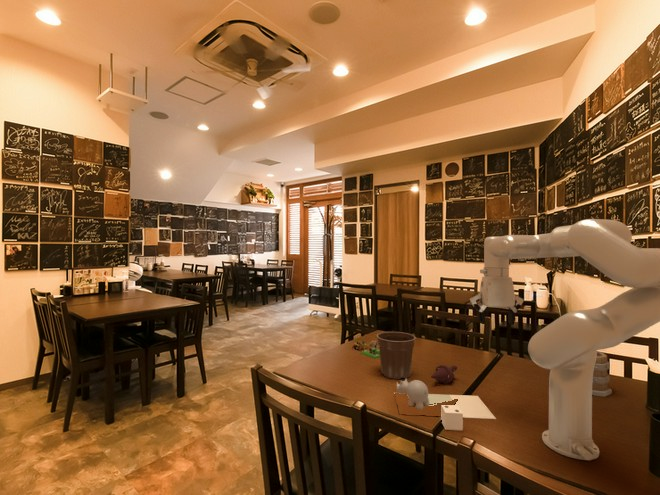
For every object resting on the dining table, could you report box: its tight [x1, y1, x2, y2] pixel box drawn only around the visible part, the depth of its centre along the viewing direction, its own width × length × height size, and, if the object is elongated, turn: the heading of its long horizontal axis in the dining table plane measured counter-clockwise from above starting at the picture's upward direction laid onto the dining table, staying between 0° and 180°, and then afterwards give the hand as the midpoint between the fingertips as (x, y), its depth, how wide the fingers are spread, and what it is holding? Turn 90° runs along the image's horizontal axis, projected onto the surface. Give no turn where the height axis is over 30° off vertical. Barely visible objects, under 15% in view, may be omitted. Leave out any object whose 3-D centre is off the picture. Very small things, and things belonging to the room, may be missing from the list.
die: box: [440, 405, 464, 431], centre depth 101 cm, size 5×5×5 cm
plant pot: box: [376, 331, 417, 380], centre depth 142 cm, size 16×16×16 cm
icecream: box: [430, 364, 458, 385], centre depth 133 cm, size 7×7×15 cm
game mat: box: [393, 392, 497, 420], centre depth 114 cm, size 16×30×1 cm, turn 86°
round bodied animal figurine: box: [396, 378, 429, 410], centre depth 115 cm, size 7×12×8 cm, turn 41°
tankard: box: [592, 350, 613, 398], centre depth 128 cm, size 20×13×15 cm, turn 74°
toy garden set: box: [352, 340, 380, 360], centre depth 175 cm, size 23×19×5 cm
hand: (496, 323), depth 113 cm, fingers open, 9 cm apart
